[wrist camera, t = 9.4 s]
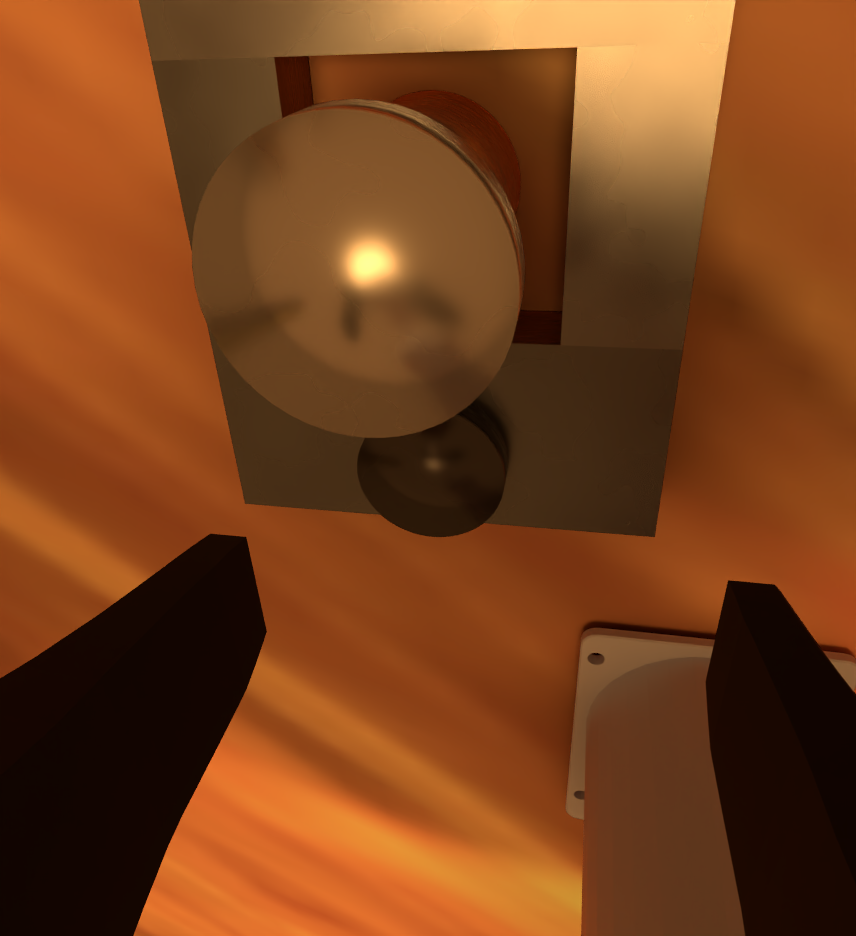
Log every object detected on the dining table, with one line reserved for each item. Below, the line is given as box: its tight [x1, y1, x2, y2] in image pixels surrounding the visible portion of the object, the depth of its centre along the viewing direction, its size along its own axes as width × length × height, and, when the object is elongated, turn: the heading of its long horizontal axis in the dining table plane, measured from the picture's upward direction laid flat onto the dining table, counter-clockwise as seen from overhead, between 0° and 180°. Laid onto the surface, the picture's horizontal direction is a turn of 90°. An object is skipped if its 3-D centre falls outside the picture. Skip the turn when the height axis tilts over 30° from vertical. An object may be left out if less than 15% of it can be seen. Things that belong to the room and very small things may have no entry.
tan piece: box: [139, 0, 735, 537], centre depth 16 cm, size 16×11×3 cm
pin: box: [192, 90, 525, 438], centre depth 15 cm, size 5×5×7 cm
